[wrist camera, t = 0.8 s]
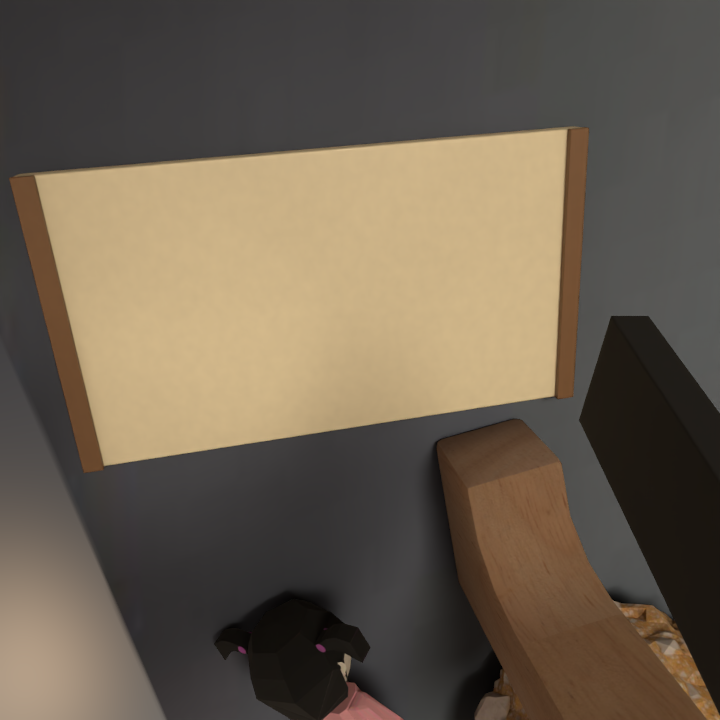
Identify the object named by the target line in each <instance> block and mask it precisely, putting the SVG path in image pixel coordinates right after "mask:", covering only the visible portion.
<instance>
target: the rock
mask: <svg viewBox="0 0 720 720" xmlns="http://www.w3.org/2000/svg"><path fill="white" fill-rule="evenodd" d="M613 602H614V603H615V604H616V605H617V607H618V608H619V609H620V610H621V612H622V613H623V614H624V615H625V617H626V618H627V619H628V620H629V622H630V623H631V624H632V625H633V627H634V628H635V629H636V630H637V632H638V633H639V634H640V635H641V637H642V638H643V639H644V641H645V642H646V643H647V644H648V646H649V647H650V648H651V649H652V651H653V652H654V653H655V654H656V656H657V657H658V658H659V659H660V661H661V662H662V663H663V664H664V666H665V667H666V668H667V669H668V671H669V672H670V673H671V674H672V676H673V677H674V678H675V680H676V681H677V682H678V683H679V685H680V686H681V687H682V688H683V690H684V691H685V692H686V693H687V695H688V696H689V697H690V698H691V700H692V701H693V702H694V703H695V705H696V706H697V707H698V708H699V710H700V711H701V712H702V714H703V715H704V716H705V717H706V719H707V720H720V715H719V713H718V711H717V709H716V706H715V704H714V702H713V700H712V698H711V696H710V694H709V692H708V690H707V688H706V685H705V683H704V681H703V679H702V677H701V675H700V673H699V671H698V669H697V667H696V664H695V662H694V660H693V658H692V656H691V654H690V652H689V650H688V648H687V645H686V643H685V641H684V639H683V637H682V635H681V633H680V631H679V629H678V627H677V624H676V622H675V621H673V620H672V619H671V618H669V617H668V616H667V615H666V614H665V613H664V612H661V611H659V610H658V609H656V608H655V607H654V606H653V605H644V604H626V603H619V602H616V601H613ZM474 720H529V718H528V716H527V714H526V712H525V710H524V708H523V706H522V704H521V702H520V700H519V698H518V696H517V694H516V692H515V690H514V689H513V687H512V685H511V683H510V681H509V679H508V677H507V675H506V673H505V671H504V669H502V670H500V679H498V680H497V681H495V683H494V691H492V692H489V693H486V694H485V695H484V696H483V698H482V699H481V701H480V703H479V705H478V707H477V709H476V711H475V713H474Z"/></svg>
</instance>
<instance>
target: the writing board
mask: <svg viewBox="0 0 720 720" xmlns="http://www.w3.org/2000/svg"><path fill="white" fill-rule="evenodd" d="M588 136H589V128H587V127H584V128H583V127H575V126H571V127H559V128H548V129H536V130H524V131H513V132H501V133H489V134H478V135H466V136H454V137H443V138H431V139H420V140H408V141H396V142H385V143H373V144H361V145H350V146H338V147H327V148H315V149H303V150H292V151H280V152H268V153H257V154H245V155H234V156H222V157H210V158H199V159H187V160H175V161H164V162H152V163H141V164H129V165H117V166H106V167H94V168H82V169H71V170H59V171H48V172H36V173H24V174H19V175H16V176H14V177H11V178H9V180H10V184H11V188H12V191H13V195H14V199H15V203H16V207H17V211H18V215H19V219H20V223H21V227H22V231H23V235H24V239H25V243H26V247H27V251H28V255H29V259H30V263H31V267H32V270H33V274H34V278H35V282H36V286H37V290H38V294H39V298H40V302H41V306H42V310H43V314H44V318H45V322H46V326H47V330H48V334H49V338H50V342H51V346H52V349H53V353H54V357H55V361H56V365H57V369H58V373H59V377H60V381H61V385H62V389H63V393H64V397H65V401H66V405H67V409H68V413H69V417H70V421H71V425H72V428H73V432H74V436H75V440H76V444H77V448H78V452H79V456H80V460H81V464H82V468H83V472H84V473H87V472H94V471H100V470H103V469H104V466H107V465H114V464H120V463H127V462H133V461H139V460H146V459H152V458H159V457H165V456H172V455H178V454H185V453H191V452H198V451H204V450H210V449H217V448H223V447H230V446H236V445H243V444H249V443H256V442H262V441H269V440H275V439H281V438H288V437H294V436H301V435H307V434H314V433H320V432H327V431H333V430H339V429H346V428H352V427H359V426H365V425H372V424H378V423H385V422H391V421H398V420H404V419H410V418H417V417H423V416H430V415H436V414H443V413H449V412H456V411H462V410H469V409H475V408H481V407H488V406H494V405H501V404H507V403H514V402H520V401H527V400H533V399H540V398H546V397H552V396H555V397H556V398H557V399H562V398H568V397H573V390H574V373H575V356H576V339H577V322H578V305H579V288H580V271H581V255H582V238H583V221H584V204H585V187H586V170H587V153H588Z"/></svg>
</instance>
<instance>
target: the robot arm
mask: <svg viewBox="0 0 720 720" xmlns="http://www.w3.org/2000/svg"><path fill="white" fill-rule="evenodd" d="M579 421H580V423H581V425H582V427H583V429H584V431H585V433H586V435H587V437H588V440H589V442H590V444H591V446H592V448H593V450H594V452H595V454H596V456H597V459H598V461H599V463H600V465H601V467H602V469H603V471H604V473H605V475H606V477H607V480H608V482H609V484H610V486H611V488H612V490H613V492H614V494H615V496H616V498H617V501H618V503H619V505H620V507H621V509H622V511H623V513H624V515H625V517H626V519H627V522H628V524H629V526H630V528H631V530H632V532H633V534H634V536H635V538H636V540H637V543H638V545H639V547H640V549H641V551H642V553H643V555H644V557H645V559H646V561H647V564H648V566H649V568H650V570H651V572H652V574H653V576H654V578H655V580H656V582H657V585H658V587H659V589H660V591H661V593H662V595H663V597H664V599H665V601H666V603H667V606H668V608H669V610H670V612H671V614H672V616H673V618H674V620H675V622H676V624H677V627H678V629H679V631H680V633H681V635H682V637H683V639H684V641H685V643H686V645H687V648H688V650H689V652H690V654H691V656H692V658H693V660H694V662H695V664H696V667H697V669H698V671H699V673H700V675H701V677H702V679H703V681H704V683H705V685H706V688H707V690H708V692H709V694H710V696H711V698H712V700H713V702H714V704H715V706H716V709H717V711H718V713H719V715H720V413H719V412H718V410H717V409H716V408H715V406H714V405H713V404H712V402H711V401H710V400H709V398H708V397H707V395H706V394H705V393H704V391H703V390H702V389H701V387H700V386H699V385H698V383H697V382H696V380H695V379H694V378H693V376H692V375H691V374H690V372H689V371H688V370H687V368H686V367H685V365H684V364H683V363H682V361H681V360H680V359H679V357H678V356H677V355H676V353H675V352H674V350H673V349H672V348H671V346H670V345H669V344H668V342H667V341H666V340H665V338H664V337H663V335H662V334H661V333H660V331H659V330H658V329H657V327H656V326H655V325H654V323H653V322H652V320H651V319H650V318H649V316H611V319H610V322H609V325H608V328H607V332H606V335H605V338H604V341H603V345H602V348H601V351H600V354H599V358H598V361H597V364H596V367H595V370H594V374H593V377H592V380H591V383H590V387H589V390H588V393H587V396H586V399H585V403H584V406H583V409H582V412H581V416H580V419H579Z"/></svg>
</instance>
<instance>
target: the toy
mask: <svg viewBox="0 0 720 720" xmlns="http://www.w3.org/2000/svg"><path fill="white" fill-rule="evenodd" d="M215 646H216V647H217V649H218V650H219V652H220V653H221V655H222V656H223V658H224V660H226V658H227V657H228V655H229V654H230V652H231V651H239V652H241V653H243V654H246V653H247V654H248V659H249V667H250V675H251V680H252V684H253V687H254V691H255V694H256V698H257V700H259V701H261V702H263V703H264V704H266V705H268V706H269V707H271V708H273V709H275V710H276V711H278V712H280V713H281V714H283V715H285V716H287V717H288V718H290V719H292V720H403V719H402V718H401V717H400V716H398V715H397V714H395V713H394V712H392V711H391V710H390V709H388V708H387V707H385V706H384V705H382V704H381V703H380V702H378V701H377V700H375V699H374V698H372V697H371V696H370V695H368V694H367V693H365V692H362V691H361V690H360V689H359V688H358V686H357V685H356V684H355V683H350V682H349V681H348V682H346V681H347V680H348V674H349V670H350V665H351V657H352V658H354V659H356V660H358V661H360V662H362V663H363V661H364V659H365V657H366V655H367V653H368V651H369V649H370V646H369V644H368V643H367V641H366V640H365V638H364V636H363V635H362V633H361V632H360V630H359V628H358V627H354V626H351V625H347V624H344V623H343V622H342V621H341V620H339V619H338V618H337V617H336V616H335V615H333V614H332V613H331V612H329V611H327V610H325V609H323V608H321V607H319V606H317V605H314V604H312V603H310V602H308V601H303V600H298V599H292V600H290V601H288V602H286V603H284V604H282V605H280V606H278V607H276V608H273V609H271V610H269V611H267V612H266V613H265V614H264V616H263V617H262V619H261V620H260V621H259V623H258V624H257V626H256V627H255V629H254V630H253V631H252V632H247V631H244V630H241V629H238V628H229V629H226V630H224V631H223V632H222V634H221V635H220V637H219V638H218V639H217V641H216V642H215Z"/></svg>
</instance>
